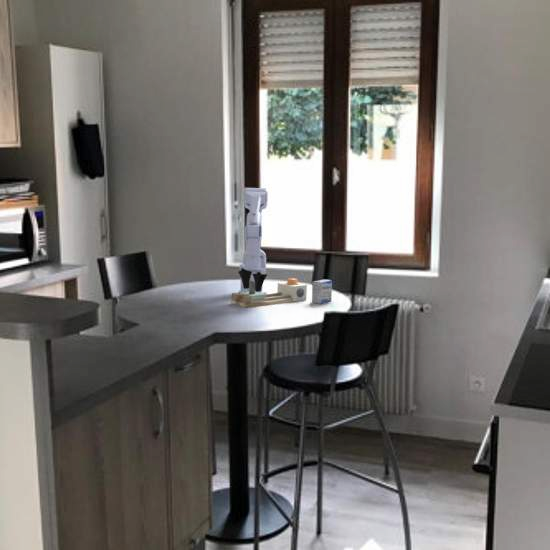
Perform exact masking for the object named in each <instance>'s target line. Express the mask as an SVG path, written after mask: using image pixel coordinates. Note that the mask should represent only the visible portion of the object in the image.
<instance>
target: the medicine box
mask: <svg viewBox="0 0 550 550" xmlns="http://www.w3.org/2000/svg"><path fill="white" fill-rule="evenodd" d="M311 285H312V286H311V292H312V293H311V303H314V304H319V305H322V304H326V303H330V302H332V297H333V296H332V293H333V292H332V291H333V290H332V289H333V281H332V280H331V279H319V280H314V281H312V283H311Z"/></svg>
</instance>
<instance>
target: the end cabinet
mask: <svg viewBox="0 0 550 550" xmlns="http://www.w3.org/2000/svg"><path fill="white" fill-rule="evenodd" d="M307 286H308V284H304V283H300V282H297V285H288V284H287V281H283V282H277V292H276V293H281V295H282V296H285V295H291V298H293V301H292V302H298V301H305V300H307V294H308V293H307V291H308V290H307Z"/></svg>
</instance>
